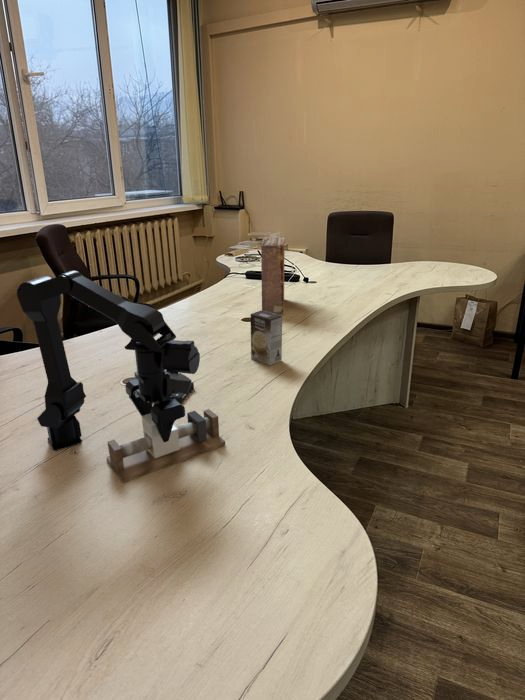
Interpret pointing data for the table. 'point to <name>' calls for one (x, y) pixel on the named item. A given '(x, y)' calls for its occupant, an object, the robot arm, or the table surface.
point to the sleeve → (159, 438)
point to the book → (272, 274)
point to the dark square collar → (198, 425)
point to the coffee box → (266, 337)
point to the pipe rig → (139, 461)
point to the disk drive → (180, 395)
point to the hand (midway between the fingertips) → (157, 432)
